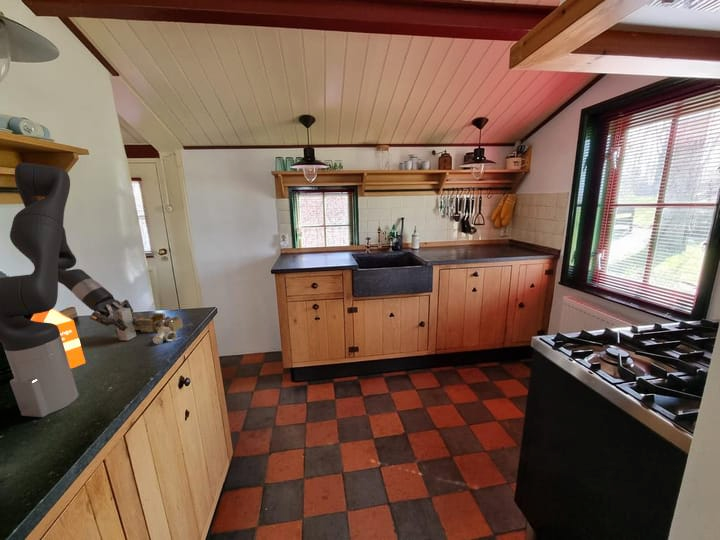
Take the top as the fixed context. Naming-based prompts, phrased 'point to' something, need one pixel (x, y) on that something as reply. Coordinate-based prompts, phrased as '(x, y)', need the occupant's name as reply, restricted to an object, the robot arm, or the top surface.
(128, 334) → the square grey block
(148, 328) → the gold block with rollers
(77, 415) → the top surface
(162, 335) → the pipe fitting
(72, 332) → the orange juice
